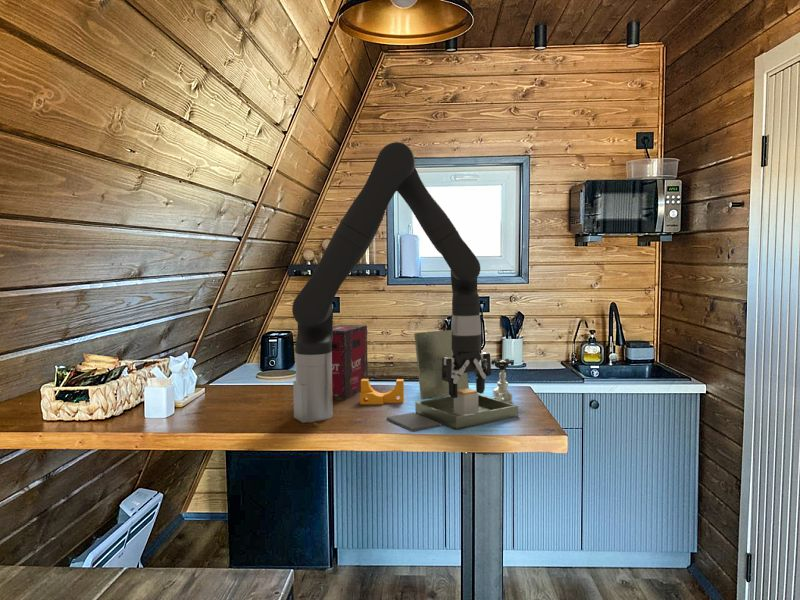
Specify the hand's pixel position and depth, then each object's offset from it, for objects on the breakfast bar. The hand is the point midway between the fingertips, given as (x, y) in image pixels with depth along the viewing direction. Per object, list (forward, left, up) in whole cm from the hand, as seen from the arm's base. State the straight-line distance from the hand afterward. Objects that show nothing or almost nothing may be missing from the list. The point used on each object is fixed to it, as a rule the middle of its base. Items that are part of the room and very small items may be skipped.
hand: (467, 395), depth 143 cm
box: (-15, +41, -6) cm, 44 cm away
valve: (+17, +5, -6) cm, 18 cm away
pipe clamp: (-12, +24, -6) cm, 27 cm away
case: (0, 0, -5) cm, 5 cm away
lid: (0, +9, -2) cm, 9 cm away
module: (0, 0, -5) cm, 5 cm away
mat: (-15, +2, -5) cm, 16 cm away
